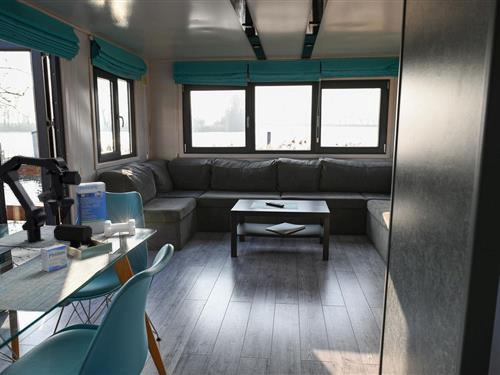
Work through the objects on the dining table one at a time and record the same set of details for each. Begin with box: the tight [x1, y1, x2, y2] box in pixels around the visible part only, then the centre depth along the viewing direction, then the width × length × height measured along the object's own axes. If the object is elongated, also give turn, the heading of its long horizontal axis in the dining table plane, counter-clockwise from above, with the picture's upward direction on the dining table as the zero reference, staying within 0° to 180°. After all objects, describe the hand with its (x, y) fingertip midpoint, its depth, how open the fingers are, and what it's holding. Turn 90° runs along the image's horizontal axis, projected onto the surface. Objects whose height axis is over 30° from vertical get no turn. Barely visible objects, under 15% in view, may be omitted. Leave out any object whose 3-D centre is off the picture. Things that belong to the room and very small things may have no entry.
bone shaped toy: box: [103, 218, 136, 238], centre depth 196 cm, size 15×9×8 cm, turn 108°
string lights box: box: [75, 181, 108, 235], centre depth 199 cm, size 13×8×26 cm, turn 124°
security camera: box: [53, 223, 96, 249], centre depth 175 cm, size 7×18×10 cm, turn 78°
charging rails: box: [52, 237, 113, 260], centre depth 172 cm, size 24×14×4 cm, turn 53°
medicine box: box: [40, 243, 68, 273], centre depth 149 cm, size 8×4×9 cm, turn 148°
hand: (59, 217), depth 181 cm, fingers open, 8 cm apart
